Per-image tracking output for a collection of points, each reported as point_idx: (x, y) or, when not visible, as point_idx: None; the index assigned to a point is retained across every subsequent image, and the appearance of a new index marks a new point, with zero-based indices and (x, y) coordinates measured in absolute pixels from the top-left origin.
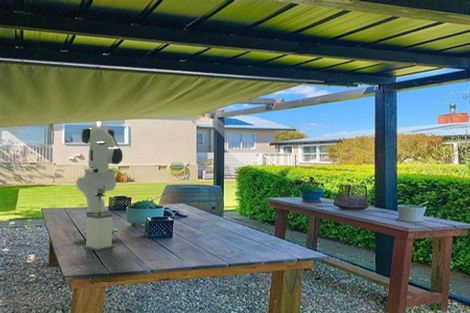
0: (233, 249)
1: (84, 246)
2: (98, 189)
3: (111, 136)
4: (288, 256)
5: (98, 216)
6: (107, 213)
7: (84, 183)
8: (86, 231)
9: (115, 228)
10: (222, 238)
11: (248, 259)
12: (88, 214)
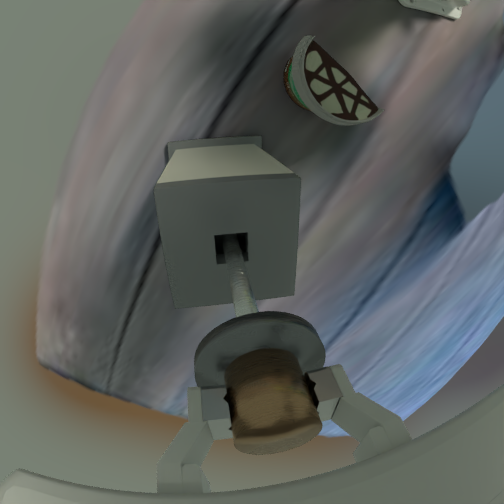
0: (387, 386)
1: (170, 145)
2: (237, 448)
3: None
4: None
5: (176, 306)
6: (296, 253)
7: (6, 499)
8: (168, 162)
9: (461, 7)
10: (466, 313)
11: (332, 428)
12: (159, 206)
